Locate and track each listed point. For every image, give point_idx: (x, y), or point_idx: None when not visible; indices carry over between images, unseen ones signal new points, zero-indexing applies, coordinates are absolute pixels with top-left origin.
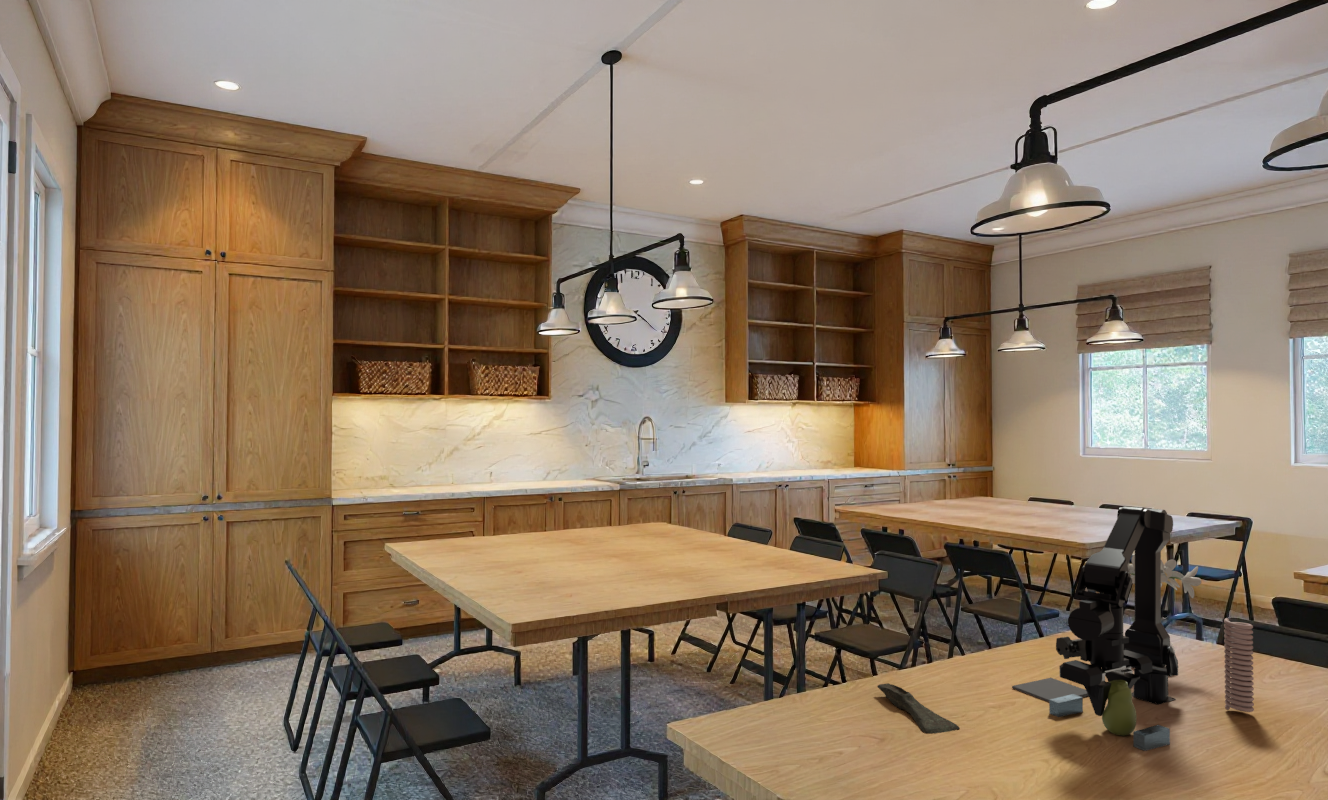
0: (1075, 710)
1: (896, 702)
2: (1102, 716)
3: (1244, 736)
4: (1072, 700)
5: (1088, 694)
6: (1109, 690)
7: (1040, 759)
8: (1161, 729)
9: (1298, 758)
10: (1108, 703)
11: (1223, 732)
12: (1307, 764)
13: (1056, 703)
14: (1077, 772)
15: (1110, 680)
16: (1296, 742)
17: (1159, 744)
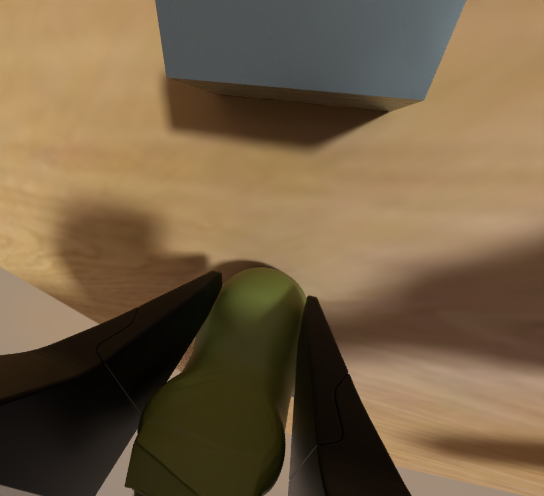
0: (333, 102)
1: None
2: (224, 287)
3: (496, 442)
4: (304, 89)
5: (122, 317)
6: (129, 436)
7: (31, 230)
8: None
9: (416, 462)
10: (193, 353)
11: (499, 423)
12: (395, 461)
13: (169, 60)
14: (74, 284)
15: (313, 479)
16: (521, 483)
17: None
